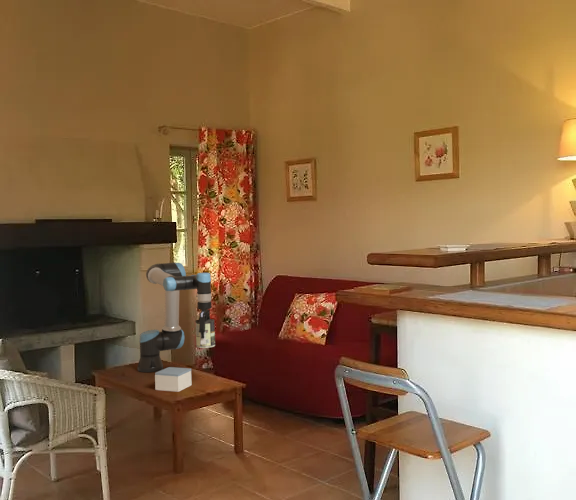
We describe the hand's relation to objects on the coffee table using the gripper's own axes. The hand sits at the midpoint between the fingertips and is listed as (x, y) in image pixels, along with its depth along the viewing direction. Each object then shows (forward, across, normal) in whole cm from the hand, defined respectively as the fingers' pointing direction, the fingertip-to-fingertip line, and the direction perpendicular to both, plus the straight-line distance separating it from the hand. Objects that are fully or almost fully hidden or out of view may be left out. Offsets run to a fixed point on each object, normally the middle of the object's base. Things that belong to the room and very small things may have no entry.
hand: (205, 342), depth 351 cm
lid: (+15, +4, -17) cm, 23 cm away
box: (+24, +5, -17) cm, 29 cm away
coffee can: (+2, 0, 0) cm, 2 cm away
